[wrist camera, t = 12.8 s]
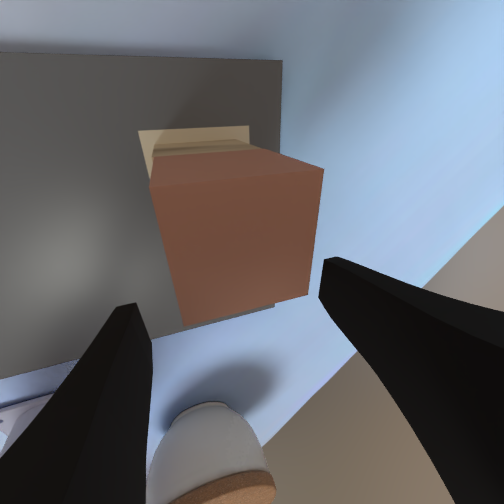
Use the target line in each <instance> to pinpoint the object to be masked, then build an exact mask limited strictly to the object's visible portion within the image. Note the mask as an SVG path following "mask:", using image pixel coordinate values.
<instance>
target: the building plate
mask: <svg viewBox="0 0 504 504" xmlns="http://www.w3.org/2000/svg"><path fill="white" fill-rule="evenodd" d="M282 62H283V60H251V59H217V58H183V57H148V56H114V55H79V54H45V53H10V52H0V379H4V378H8V377H12V376H15V375H19V374H23V373H27V372H30V371H34V370H38V369H42V368H46V367H49V366H53V365H57V364H61V363H65V362H68V361H72V360H76V359H80V358H81V357H82V355H83V354H84V353H85V351H86V350H87V348H88V347H89V346H90V344H91V343H92V341H93V340H94V338H95V337H96V335H97V334H98V332H99V331H100V329H101V328H102V326H103V325H104V323H105V322H106V321H107V319H108V318H109V316H110V315H111V313H112V312H113V310H114V309H115V308H116V307H117V306H121V305H126V304H130V303H135V302H136V303H137V306H138V308H139V311H140V313H141V316H142V319H143V321H144V324H145V327H146V329H147V332H148V334H149V337H150V340H152V339H155V338H159V337H163V336H167V335H170V334H174V333H178V332H182V331H186V330H189V329H193V328H197V327H201V326H204V325H208V324H212V323H216V322H220V321H223V320H227V319H231V318H235V317H239V316H242V315H246V314H250V313H254V312H257V311H261V310H265V309H269V308H273V307H275V303H274V304H270V305H266V306H262V307H258V308H255V309H251V310H247V311H243V312H239V313H235V314H231V315H227V316H224V317H220V318H216V319H212V320H208V321H204V322H200V323H197V324H193V325H189V326H185V327H184V325H183V321H182V317H181V313H180V309H179V305H178V301H177V297H176V293H175V289H174V285H173V281H172V277H171V273H170V269H169V265H168V261H167V257H166V253H165V249H164V245H163V241H162V237H161V233H160V230H159V226H158V222H157V218H156V214H155V210H154V206H153V202H152V198H151V194H150V190H149V184H150V178H151V172H152V166H153V162H152V153H153V148H154V144H169V143H184V142H200V141H215V140H230V139H237V140H239V141H242V142H245V143H248V144H251V145H254V146H256V147H259V148H262V149H267V150H270V151H273V152H276V153H279V154H280V123H281V93H282Z"/></svg>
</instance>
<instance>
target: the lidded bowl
mask: <svg viewBox="0 0 504 504" xmlns="http://www.w3.org/2000/svg"><path fill="white" fill-rule="evenodd" d="M275 495H276V486H275V483H274V480H273V477H272V475H271V474H270V472H269V469H268V465H267V462H266V459H265V456H264V453H263V450H262V448H261V445H260V443H259V441H258V438H257V436H256V434H255V433H254V431H253V429H252V427H251V426H250V425H249V423H248V422H247V421H246V420H245V419H244V418H243V417H242V416H241V415H240V414H238V413H237V412H235V411H234V410H232V409H230V408H229V407H228V406H227V405H226V404H224V403H222V402H205V403H201V404H198V405H195V406H193V407H190V408H188V409H187V410H185V411H183V412H182V413H180V414H179V415H178V416H177V417H176V418H175V419H174V420H173V422H172V424H171V427H170V429H169V430H168V431H167V432H166V434H165V435H164V437H163V438H162V440H161V441H160V443H159V445H158V447H157V449H156V451H155V453H154V456H153V459H152V462H151V465H150V470H149V474H148V479H147V484H146V504H271V502H272V501H273V500H274V498H275Z"/></svg>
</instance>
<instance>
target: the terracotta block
mask: <svg viewBox="0 0 504 504" xmlns="http://www.w3.org/2000/svg"><path fill="white" fill-rule="evenodd" d="M323 173H324V169H323V168H320V167H317V166H314V165H311V164H308V163H305V162H302V161H299V160H296V159H294V158H291V157H288V156H285V155H282V154H279V153H276V152H273V151H270V150H267V149H252V150H239V151H225V152H211V153H198V154H184V155H171V156H157V157H154V160H153V166H152V172H151V178H150V184H149V190H150V194H151V198H152V202H153V206H154V210H155V214H156V218H157V222H158V226H159V230H160V233H161V237H162V241H163V245H164V249H165V253H166V257H167V261H168V265H169V269H170V273H171V277H172V281H173V285H174V289H175V293H176V297H177V301H178V305H179V309H180V313H181V317H182V321H183V325H184V327H185V326H189V325H193V324H197V323H200V322H204V321H208V320H212V319H216V318H220V317H224V316H227V315H231V314H235V313H239V312H243V311H247V310H251V309H255V308H258V307H262V306H266V305H270V304H274V303H278V302H282V301H285V300H289V299H293V298H297V297H301V296H305V295H308V289H309V282H310V274H311V266H312V258H313V251H314V243H315V235H316V228H317V220H318V212H319V204H320V197H321V189H322V181H323Z"/></svg>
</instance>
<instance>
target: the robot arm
mask: <svg viewBox="0 0 504 504" xmlns="http://www.w3.org/2000/svg"><path fill="white" fill-rule="evenodd" d="M318 298H319V299H320V301H321V303H322V304H323V306H324V308H325V309H326V311H327V312H328V314H329V316H330V317H331V318H332V320H333V321H334V322H335V324H336V325H337V326H338V327H339V328H340V330H341V331H342V332H343V333H344V335H345V336H346V337H347V338H348V339H349V341H350V342H351V343H352V344H353V346H354V347H355V348H356V349H357V350H358V352H359V353H360V354H361V355H362V356H363V357H364V359H365V360H366V361H367V362H368V364H369V365H370V366H371V368H372V369H373V370H374V372H375V373H376V374H377V375H378V377H379V379H380V380H381V381H382V383H383V384H384V386H385V387H386V389H387V390H388V392H389V393H390V395H391V396H392V398H393V399H394V401H395V402H396V404H397V405H398V407H399V408H400V410H401V412H402V413H403V415H404V416H405V418H406V419H407V421H408V422H409V424H410V426H411V427H412V429H413V431H414V432H415V434H416V436H417V437H418V439H419V440H420V442H421V444H422V446H423V447H424V449H425V450H426V452H427V454H428V456H429V457H430V459H431V461H432V462H433V464H434V466H435V468H436V470H437V471H438V473H439V475H440V477H441V479H442V480H443V482H444V484H445V486H446V487H447V489H448V491H449V493H450V495H451V496H452V498H453V500H454V502H455V504H504V312H502V311H498V310H493V309H490V308H485V307H482V306H478V305H474V304H470V303H467V302H463V301H460V300H456V299H453V298H450V297H446V296H443V295H440V294H437V293H434V292H430V291H428V290H425V289H422V288H419V287H416V286H413V285H411V284H408V283H405V282H402V281H400V280H397V279H395V278H392V277H389V276H387V275H384V274H382V273H379V272H377V271H374V270H372V269H369V268H367V267H364V266H362V265H359V264H357V263H354V262H351V261H349V260H346V259H343V258H340V257H332V258H328V259H324V263H323V269H322V276H321V283H320V289H319V296H318ZM152 376H153V361H152V342H151V340H150V337H149V334H148V332H147V329H146V327H145V324H144V321H143V319H142V316H141V313H140V311H139V308H138V306H137V303H136V302H135V303H130V304H126V305H121V306H117V307H116V308H115V309H114V310H113V312H112V313H111V315H110V316H109V318H108V319H107V321H106V322H105V323H104V325H103V326H102V328H101V329H100V331H99V332H98V334H97V335H96V337H95V338H94V340H93V341H92V343H91V344H90V346H89V347H88V348H87V350H86V351H85V353H84V354H83V355H82V357H81V358H80V360H79V361H78V362H77V364H76V365H75V367H74V368H73V369H72V371H71V372H70V373H69V375H68V376H67V377H66V379H65V380H64V381H63V383H62V384H61V385H60V386H59V388H58V389H57V390H56V392H55V393H53V394H49V395H46V396H42V397H39V398H36V399H32V400H29V401H25V402H22V403H18V404H15V405H11V406H8V407H5V408H1V409H0V430H1V431H2V432H3V433H4V434H6V435H7V436H8V438H7V440H6V442H5V444H4V446H3V449H2V451H1V453H0V504H146V451H147V437H148V425H149V413H150V402H151V389H152Z"/></svg>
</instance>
